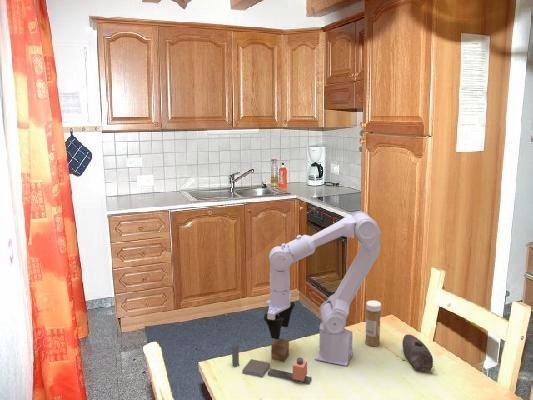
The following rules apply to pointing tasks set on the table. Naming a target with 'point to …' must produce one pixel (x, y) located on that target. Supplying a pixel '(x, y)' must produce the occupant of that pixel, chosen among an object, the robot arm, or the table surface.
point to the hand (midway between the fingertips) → (279, 332)
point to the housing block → (280, 350)
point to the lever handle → (299, 369)
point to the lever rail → (287, 376)
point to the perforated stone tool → (417, 353)
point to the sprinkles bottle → (373, 323)
